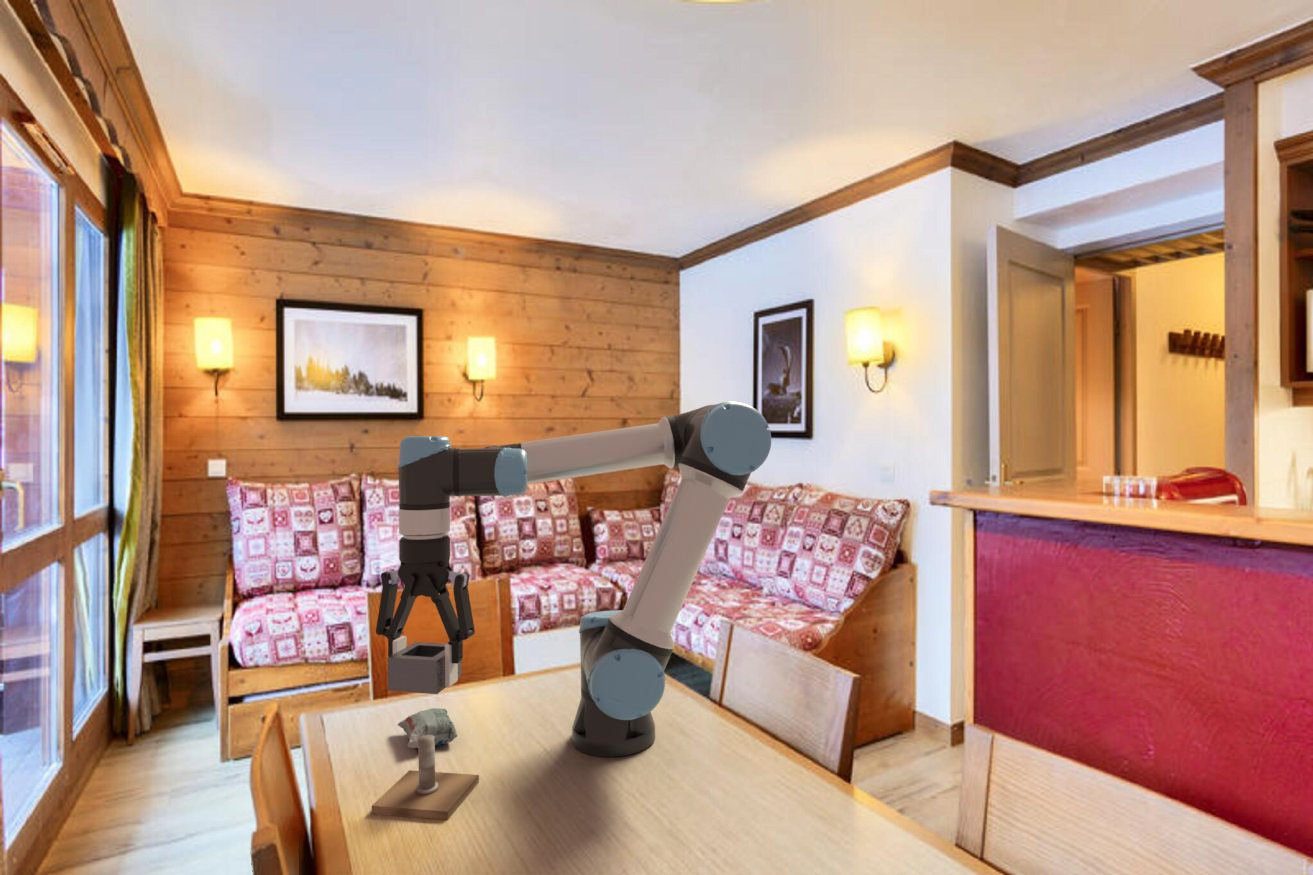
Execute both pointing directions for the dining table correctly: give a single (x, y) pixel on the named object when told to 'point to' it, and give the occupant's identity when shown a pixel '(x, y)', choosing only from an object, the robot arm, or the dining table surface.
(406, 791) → the stand
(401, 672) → the link
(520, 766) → the dining table surface
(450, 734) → the packaged food
